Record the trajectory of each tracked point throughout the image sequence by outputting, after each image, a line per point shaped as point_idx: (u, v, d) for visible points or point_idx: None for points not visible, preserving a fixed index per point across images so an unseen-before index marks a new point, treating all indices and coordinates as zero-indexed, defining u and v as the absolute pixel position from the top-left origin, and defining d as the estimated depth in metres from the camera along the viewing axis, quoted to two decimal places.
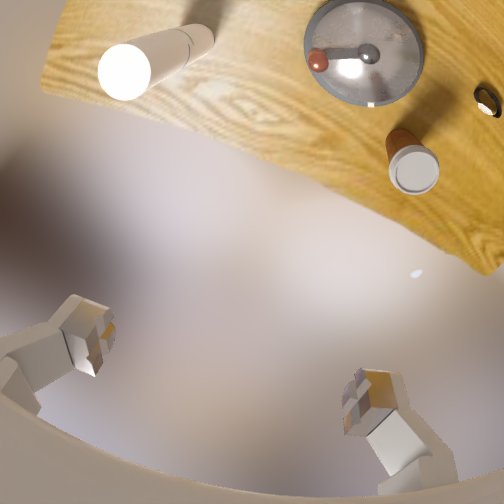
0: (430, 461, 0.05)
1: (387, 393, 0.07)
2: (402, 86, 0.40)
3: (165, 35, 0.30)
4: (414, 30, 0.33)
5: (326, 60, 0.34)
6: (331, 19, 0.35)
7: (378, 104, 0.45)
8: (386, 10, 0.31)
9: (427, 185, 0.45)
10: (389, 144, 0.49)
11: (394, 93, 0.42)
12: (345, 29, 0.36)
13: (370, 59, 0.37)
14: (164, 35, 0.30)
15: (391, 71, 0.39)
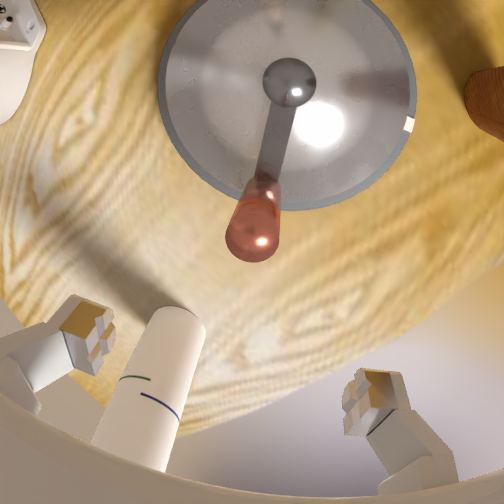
0: (430, 461, 0.05)
1: (387, 393, 0.07)
2: (385, 41, 0.16)
3: (102, 423, 0.20)
4: None
5: (249, 217, 0.15)
6: (192, 132, 0.21)
7: (412, 108, 0.20)
8: (195, 17, 0.17)
9: None
10: (492, 129, 0.17)
11: (398, 65, 0.17)
12: (222, 112, 0.20)
13: (304, 84, 0.18)
14: (101, 425, 0.20)
15: (345, 49, 0.17)
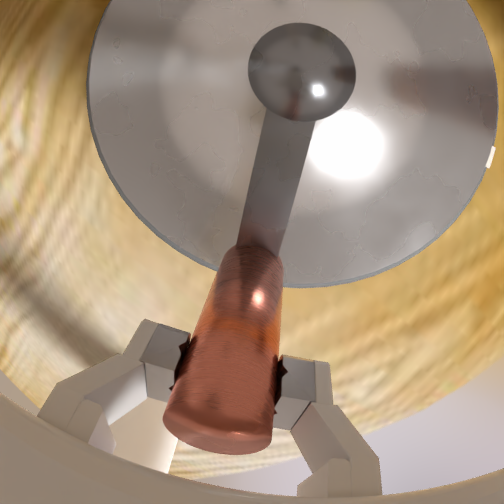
0: (345, 465, 0.05)
1: (305, 383, 0.07)
2: (461, 15, 0.07)
3: None
4: None
5: (206, 409, 0.06)
6: (132, 167, 0.12)
7: None
8: None
9: None
10: None
11: (481, 57, 0.08)
12: (178, 130, 0.11)
13: (332, 76, 0.08)
14: None
15: (401, 20, 0.08)
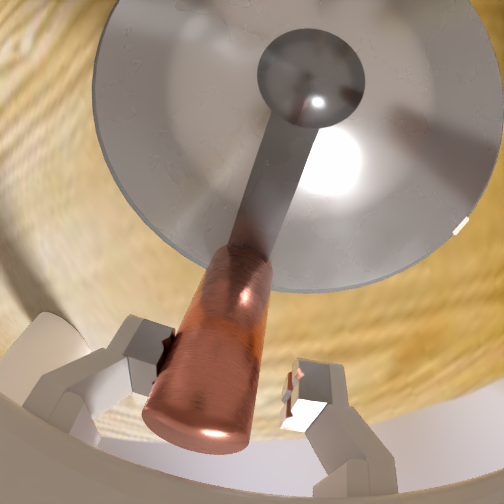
0: (363, 465, 0.05)
1: (321, 386, 0.07)
2: (476, 38, 0.07)
3: None
4: None
5: (186, 408, 0.06)
6: (131, 156, 0.12)
7: None
8: None
9: None
10: None
11: (491, 81, 0.08)
12: (180, 124, 0.11)
13: (341, 85, 0.08)
14: None
15: (415, 36, 0.08)
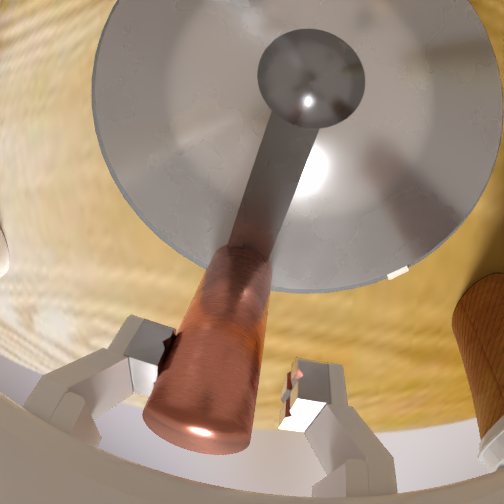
0: (362, 465, 0.05)
1: (320, 386, 0.07)
2: (476, 38, 0.07)
3: None
4: None
5: (188, 408, 0.06)
6: (131, 156, 0.12)
7: None
8: None
9: None
10: (469, 350, 0.14)
11: (491, 81, 0.08)
12: (180, 124, 0.11)
13: (341, 85, 0.08)
14: None
15: (415, 36, 0.08)
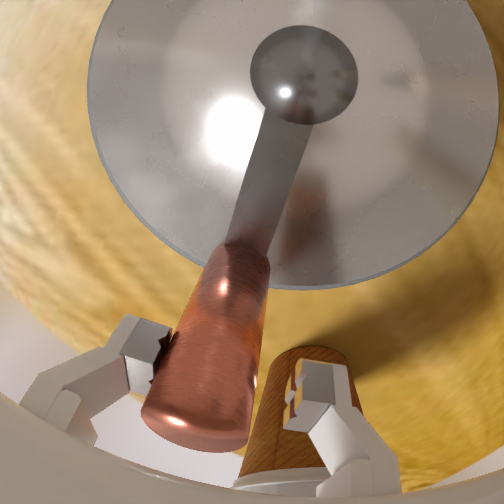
0: (367, 465, 0.05)
1: (325, 386, 0.07)
2: (469, 31, 0.07)
3: None
4: None
5: (185, 405, 0.06)
6: (127, 157, 0.12)
7: None
8: None
9: None
10: (270, 395, 0.18)
11: (486, 74, 0.08)
12: (175, 123, 0.11)
13: (334, 81, 0.08)
14: None
15: (408, 30, 0.08)
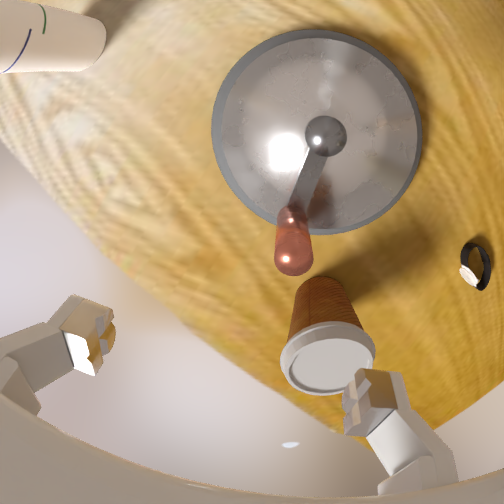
0: (431, 461, 0.05)
1: (387, 393, 0.07)
2: (403, 107, 0.23)
3: None
4: (418, 123, 0.24)
5: (295, 243, 0.21)
6: (241, 163, 0.27)
7: None
8: (255, 64, 0.23)
9: (341, 385, 0.28)
10: (300, 301, 0.33)
11: (410, 128, 0.23)
12: (267, 150, 0.26)
13: (337, 139, 0.24)
14: None
15: (371, 111, 0.23)
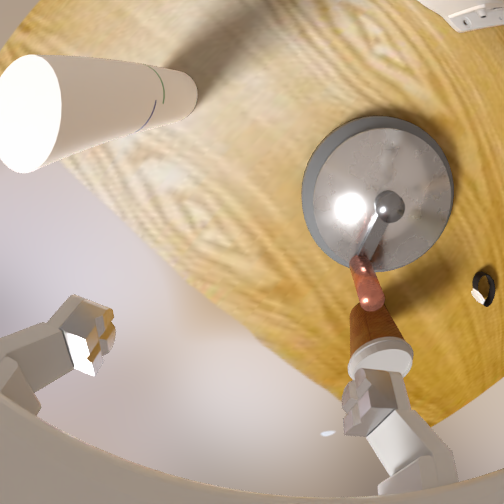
0: (431, 461, 0.05)
1: (387, 393, 0.07)
2: (443, 182, 0.31)
3: (127, 70, 0.18)
4: (451, 191, 0.33)
5: (375, 292, 0.30)
6: (326, 223, 0.36)
7: None
8: (342, 148, 0.31)
9: None
10: (358, 320, 0.42)
11: (446, 197, 0.32)
12: (347, 215, 0.35)
13: (398, 211, 0.32)
14: (125, 70, 0.18)
15: (421, 187, 0.32)
